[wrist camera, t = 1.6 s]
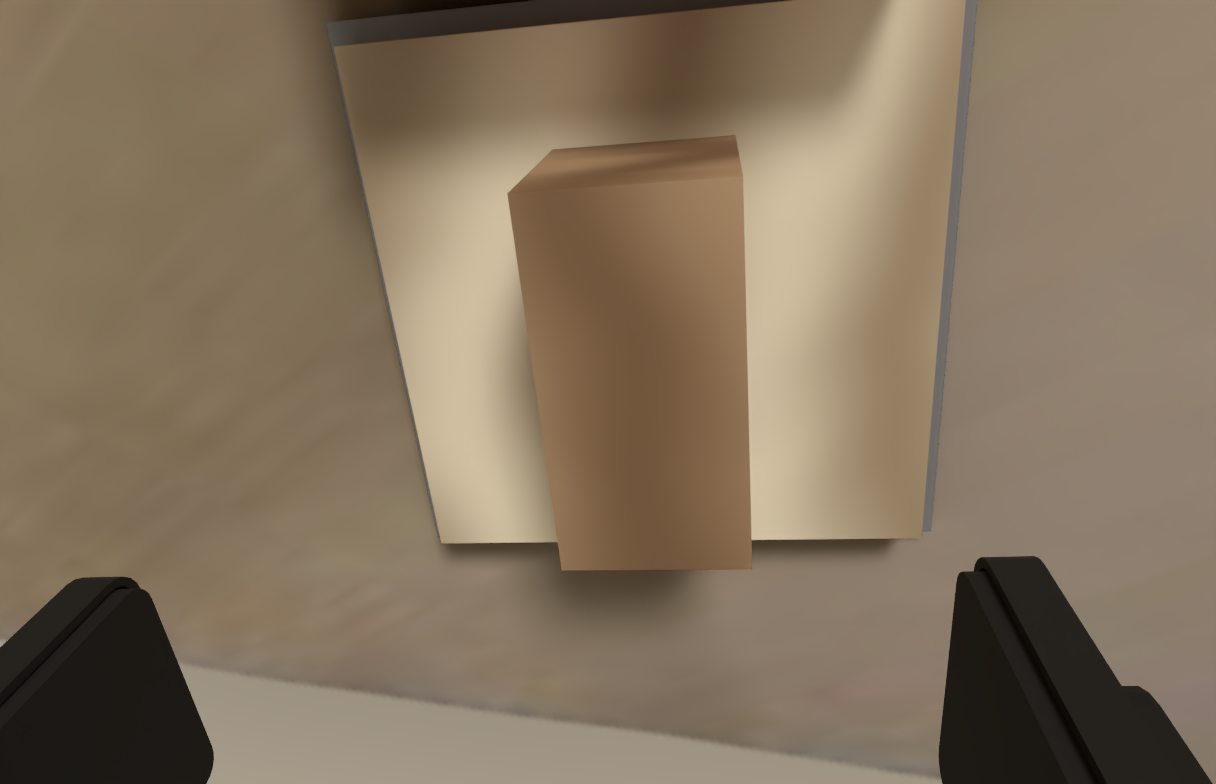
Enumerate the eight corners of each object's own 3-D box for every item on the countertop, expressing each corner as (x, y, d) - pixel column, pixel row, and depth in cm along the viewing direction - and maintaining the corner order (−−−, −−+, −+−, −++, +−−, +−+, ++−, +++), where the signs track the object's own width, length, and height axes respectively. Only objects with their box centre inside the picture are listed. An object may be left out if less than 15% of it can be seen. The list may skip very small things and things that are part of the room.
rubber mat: (974, -47, 17) (981, -47, 17) (926, 521, 23) (930, 531, 22) (334, 21, 19) (325, 22, 18) (442, 527, 25) (438, 537, 24)
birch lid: (953, -17, 17) (1054, -22, 12) (913, 516, 22) (970, 663, 17) (351, 44, 19) (223, 61, 14) (451, 522, 24) (384, 658, 19)
